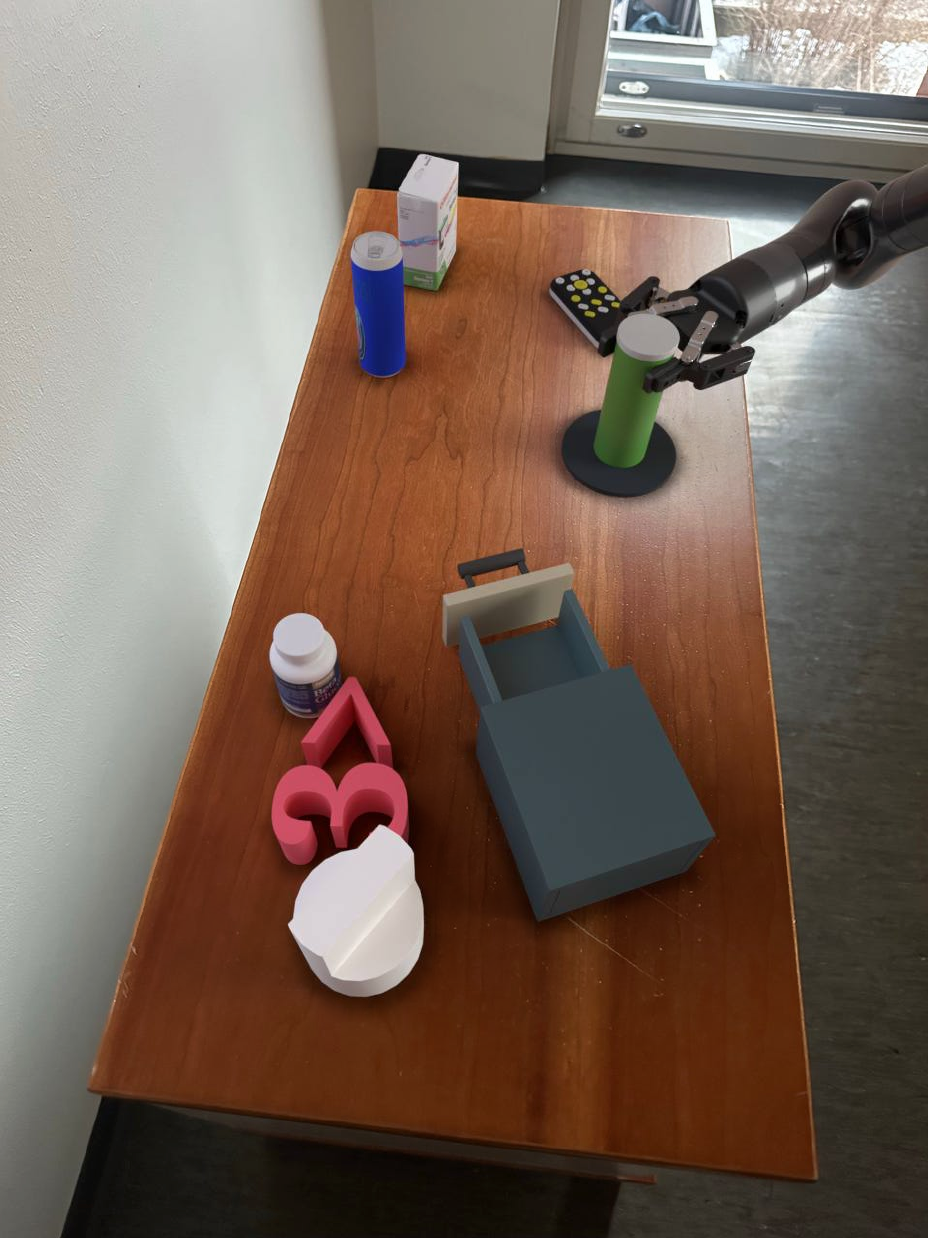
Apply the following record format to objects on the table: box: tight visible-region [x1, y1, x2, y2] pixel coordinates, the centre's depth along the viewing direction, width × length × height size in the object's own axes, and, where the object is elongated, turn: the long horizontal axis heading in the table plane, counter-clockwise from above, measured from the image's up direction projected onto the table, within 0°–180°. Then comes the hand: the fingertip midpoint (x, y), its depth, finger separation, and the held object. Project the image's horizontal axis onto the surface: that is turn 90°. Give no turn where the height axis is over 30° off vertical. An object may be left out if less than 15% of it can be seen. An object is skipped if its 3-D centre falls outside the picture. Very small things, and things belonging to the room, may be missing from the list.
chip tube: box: [594, 314, 680, 468], centre depth 87 cm, size 6×6×15 cm
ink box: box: [396, 153, 460, 292], centre depth 104 cm, size 8×5×12 cm, turn 164°
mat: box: [560, 409, 677, 498], centre depth 94 cm, size 12×12×1 cm
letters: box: [271, 676, 410, 866], centre depth 71 cm, size 14×10×5 cm
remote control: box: [549, 268, 621, 350], centre depth 105 cm, size 6×13×2 cm, turn 28°
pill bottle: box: [269, 612, 343, 719], centre depth 74 cm, size 5×5×10 cm
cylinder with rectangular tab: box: [287, 824, 425, 998], centre depth 62 cm, size 9×9×12 cm
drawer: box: [441, 547, 612, 713], centre depth 76 cm, size 18×11×7 cm, turn 18°
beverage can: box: [350, 230, 407, 379], centre depth 94 cm, size 5×5×15 cm
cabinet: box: [475, 663, 716, 923], centre depth 69 cm, size 15×13×9 cm
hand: (624, 365), depth 82 cm, fingers closed on chip tube, 5 cm apart
